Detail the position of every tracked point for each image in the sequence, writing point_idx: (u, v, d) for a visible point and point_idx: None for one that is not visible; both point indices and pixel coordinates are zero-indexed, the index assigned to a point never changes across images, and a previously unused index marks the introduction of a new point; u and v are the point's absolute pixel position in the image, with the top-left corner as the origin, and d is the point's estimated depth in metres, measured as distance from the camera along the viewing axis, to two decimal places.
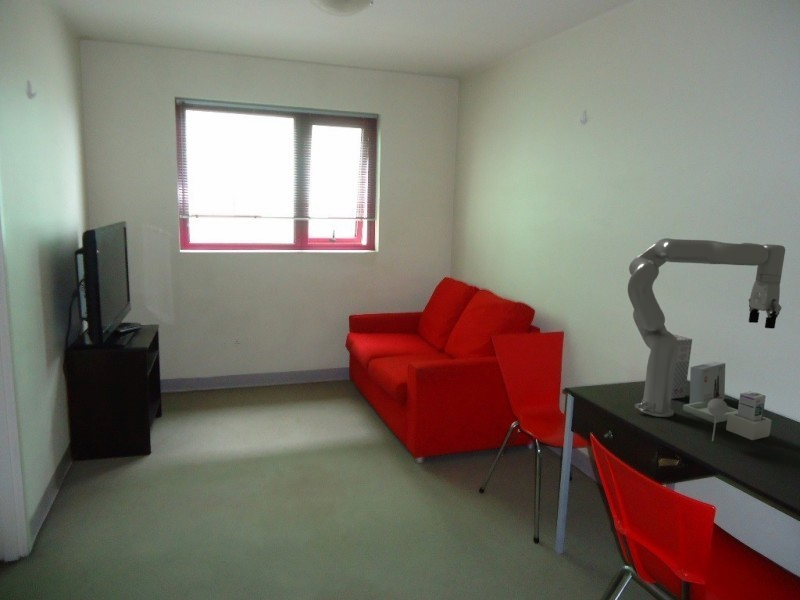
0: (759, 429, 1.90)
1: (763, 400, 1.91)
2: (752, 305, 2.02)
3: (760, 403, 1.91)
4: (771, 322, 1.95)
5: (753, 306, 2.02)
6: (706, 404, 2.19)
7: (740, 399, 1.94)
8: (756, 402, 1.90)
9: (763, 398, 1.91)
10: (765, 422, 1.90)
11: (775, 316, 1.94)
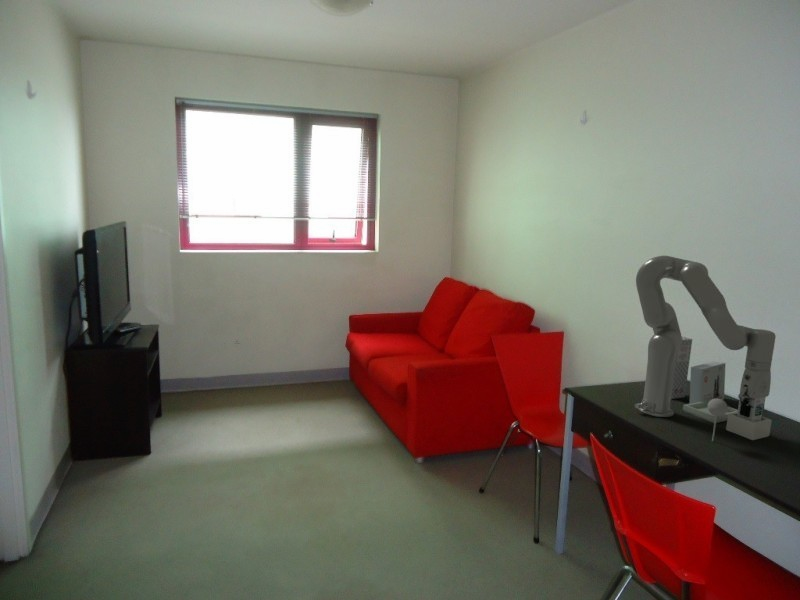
0: (759, 429, 1.90)
1: (763, 400, 1.91)
2: (757, 396, 1.89)
3: (760, 403, 1.91)
4: None
5: (758, 396, 1.89)
6: (706, 404, 2.19)
7: None
8: (756, 401, 1.90)
9: (763, 398, 1.91)
10: (765, 422, 1.90)
11: None
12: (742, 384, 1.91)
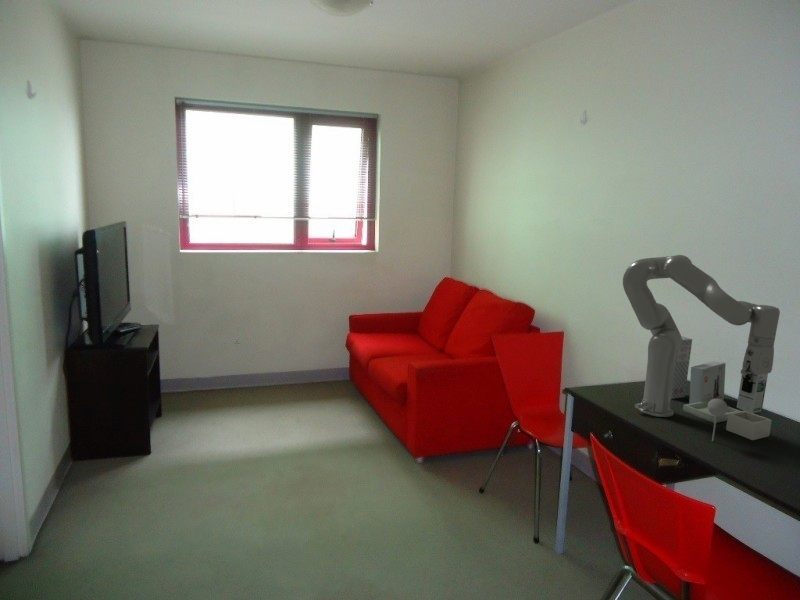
0: (759, 429, 1.90)
1: (765, 376, 1.90)
2: (760, 372, 1.88)
3: (762, 379, 1.89)
4: None
5: (761, 372, 1.88)
6: (706, 404, 2.19)
7: None
8: (759, 378, 1.88)
9: (765, 374, 1.90)
10: (765, 422, 1.90)
11: None
12: (745, 360, 1.90)
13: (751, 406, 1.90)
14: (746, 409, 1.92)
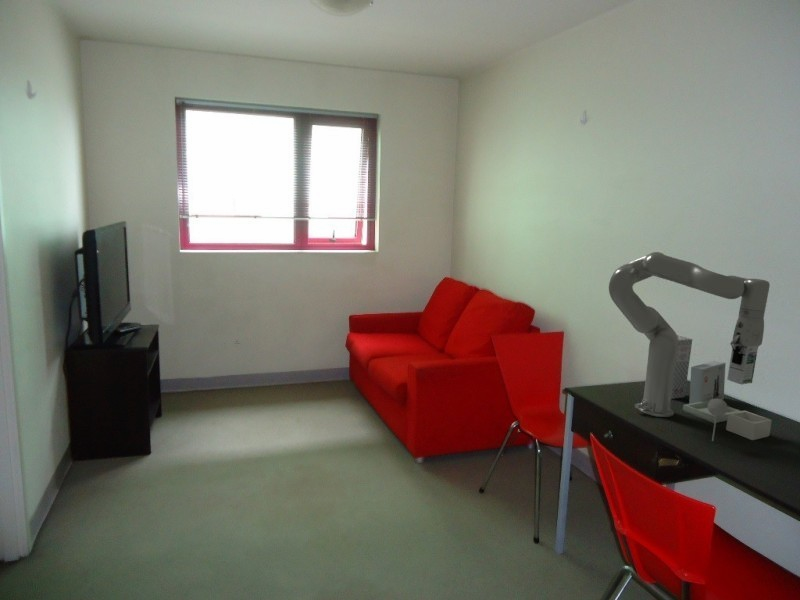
0: (759, 429, 1.90)
1: (756, 349, 1.94)
2: (749, 344, 1.92)
3: (752, 351, 1.94)
4: None
5: (751, 344, 1.93)
6: (706, 404, 2.19)
7: None
8: (748, 349, 1.93)
9: (756, 347, 1.94)
10: (765, 422, 1.90)
11: None
12: (735, 332, 1.94)
13: (741, 377, 1.95)
14: (736, 381, 1.96)
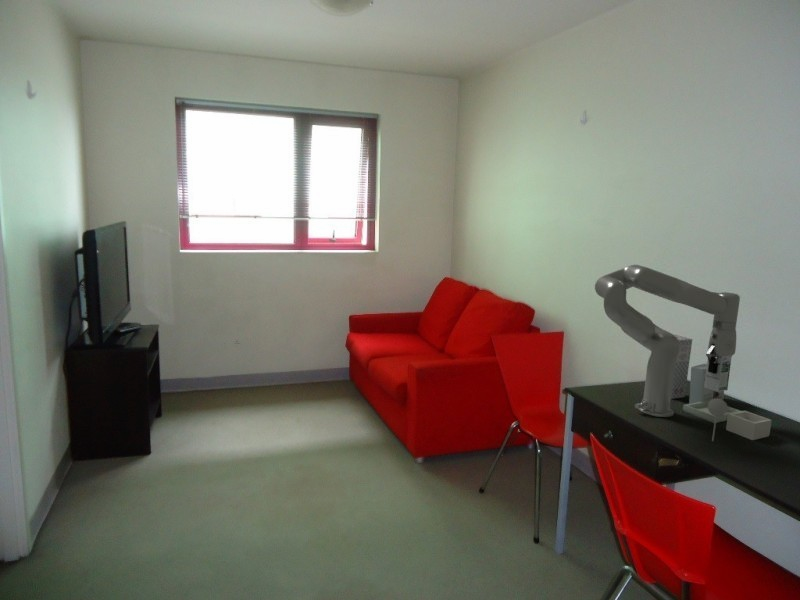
0: (759, 429, 1.90)
1: (729, 358, 2.07)
2: (723, 354, 2.05)
3: (726, 360, 2.06)
4: None
5: (725, 354, 2.05)
6: (706, 404, 2.19)
7: None
8: (723, 359, 2.05)
9: (729, 356, 2.07)
10: (765, 422, 1.90)
11: None
12: (710, 343, 2.06)
13: (717, 385, 2.07)
14: (713, 388, 2.08)
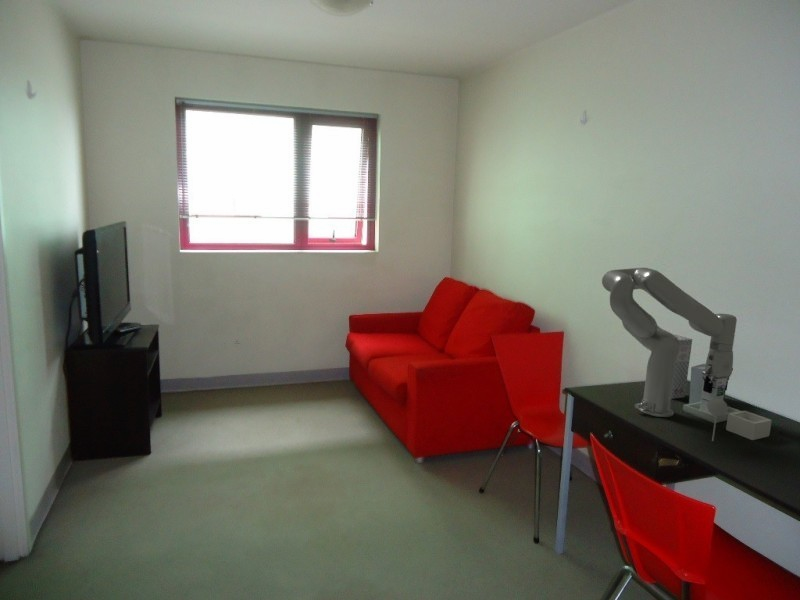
0: (759, 429, 1.90)
1: (725, 382, 2.08)
2: (720, 375, 2.06)
3: (721, 384, 2.08)
4: None
5: (721, 375, 2.06)
6: None
7: None
8: (718, 383, 2.07)
9: (725, 380, 2.08)
10: (765, 422, 1.90)
11: None
12: (707, 364, 2.08)
13: None
14: (708, 412, 2.10)
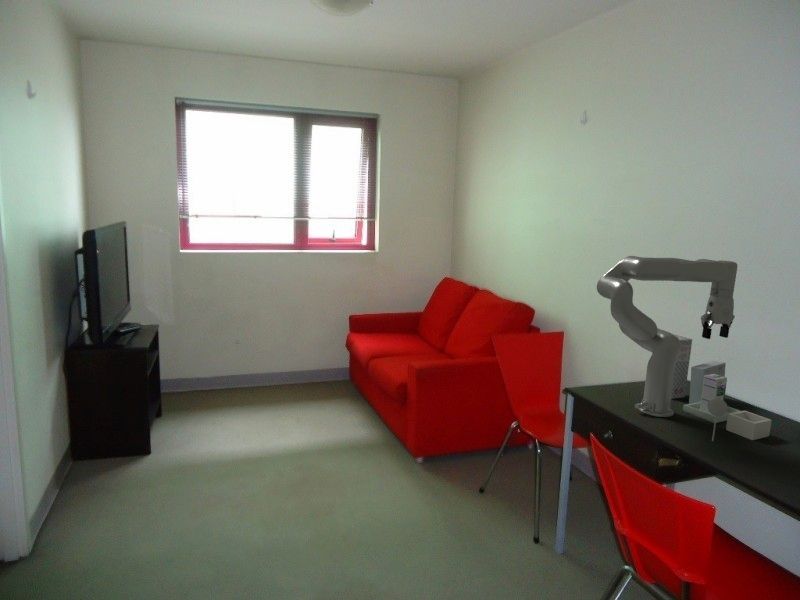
0: (759, 429, 1.90)
1: (725, 382, 2.08)
2: (720, 321, 2.06)
3: (721, 384, 2.08)
4: None
5: (721, 322, 2.06)
6: None
7: (704, 381, 2.11)
8: (718, 383, 2.07)
9: (725, 380, 2.08)
10: (765, 422, 1.90)
11: None
12: (706, 311, 2.08)
13: None
14: (708, 412, 2.10)
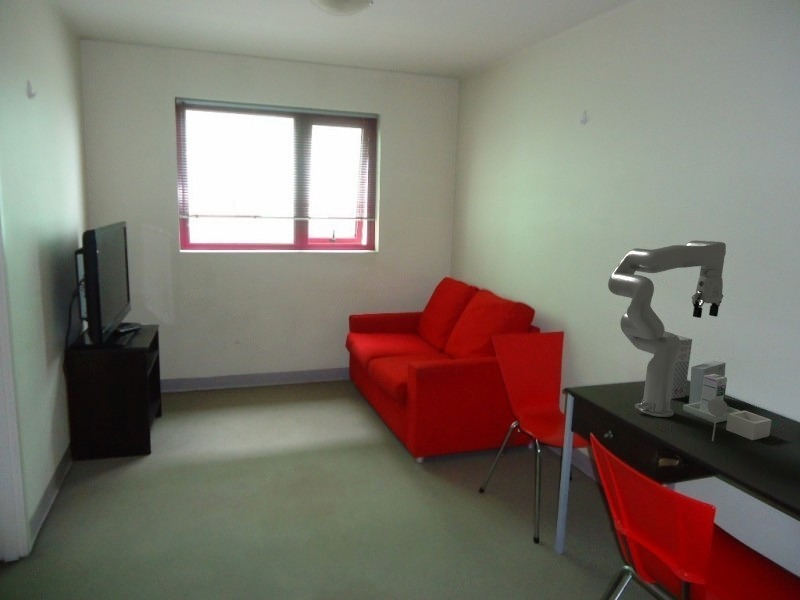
0: (759, 429, 1.90)
1: (725, 382, 2.08)
2: (710, 300, 2.12)
3: (721, 384, 2.08)
4: None
5: (711, 301, 2.12)
6: None
7: (704, 381, 2.11)
8: (718, 383, 2.07)
9: (725, 380, 2.08)
10: (765, 422, 1.90)
11: None
12: (697, 290, 2.13)
13: None
14: (708, 412, 2.10)
